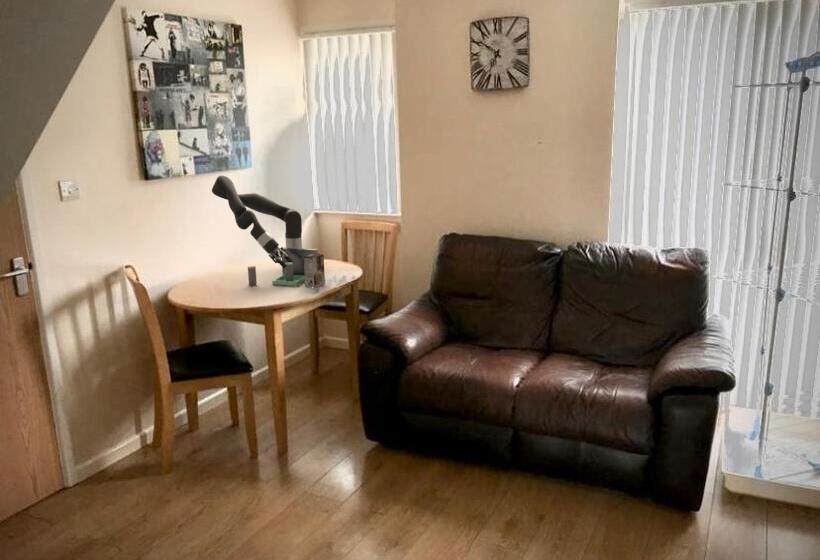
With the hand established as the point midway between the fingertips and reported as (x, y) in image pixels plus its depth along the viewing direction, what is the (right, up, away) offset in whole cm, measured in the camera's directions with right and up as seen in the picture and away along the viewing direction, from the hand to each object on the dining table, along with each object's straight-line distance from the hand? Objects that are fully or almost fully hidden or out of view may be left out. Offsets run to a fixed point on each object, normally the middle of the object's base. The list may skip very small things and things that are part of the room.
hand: (288, 265), depth 352 cm
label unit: (+4, -6, +14) cm, 16 cm away
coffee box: (+14, -11, -3) cm, 18 cm away
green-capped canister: (0, -9, +3) cm, 9 cm away
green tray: (0, -9, +3) cm, 10 cm away
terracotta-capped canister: (-18, -11, -2) cm, 21 cm away
